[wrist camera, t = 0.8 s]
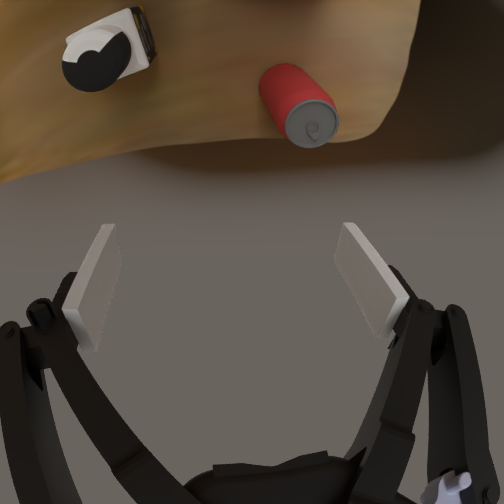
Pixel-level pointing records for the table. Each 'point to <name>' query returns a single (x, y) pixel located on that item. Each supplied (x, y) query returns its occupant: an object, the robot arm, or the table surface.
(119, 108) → the table surface
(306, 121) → the beer can
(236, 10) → the table surface
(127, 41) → the medicine bottle
